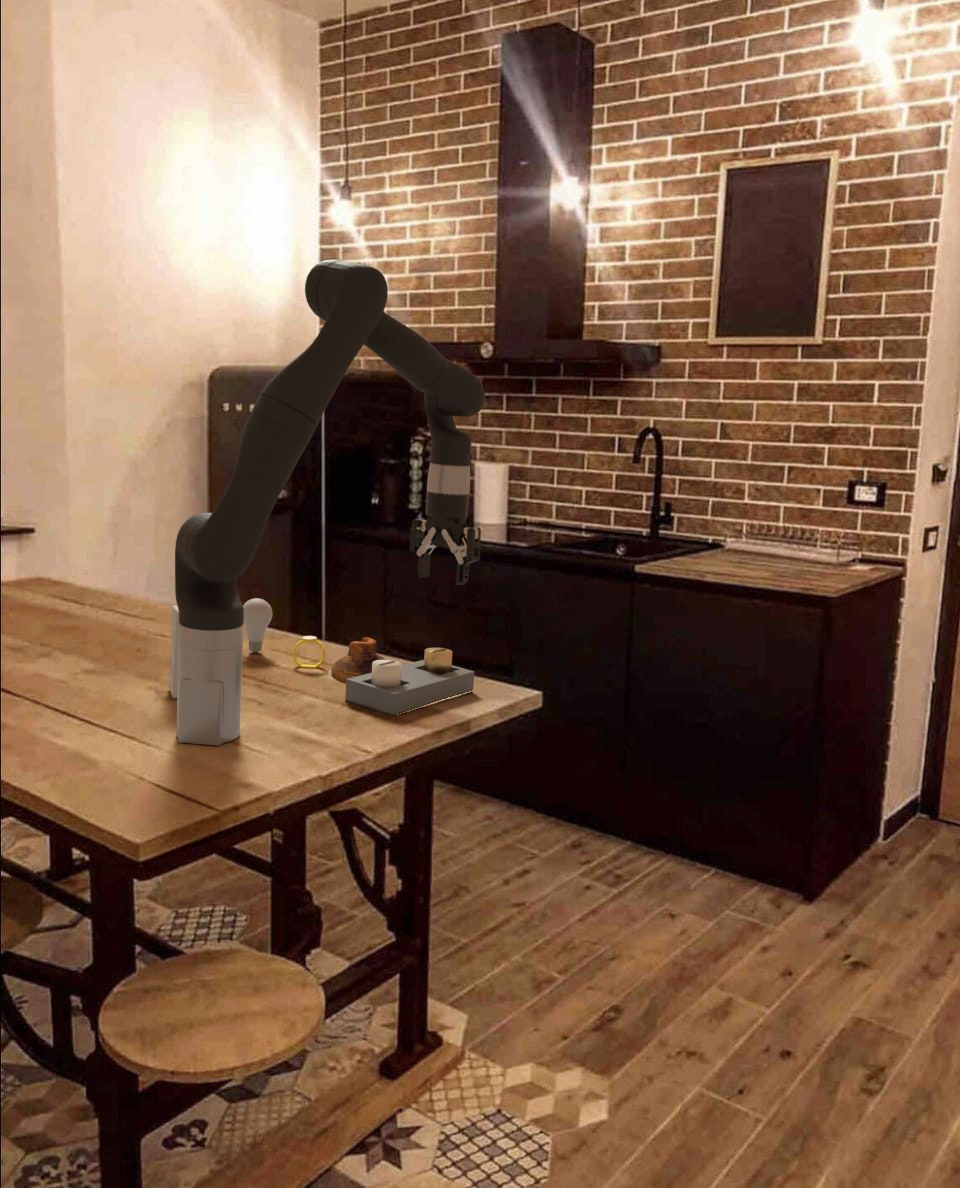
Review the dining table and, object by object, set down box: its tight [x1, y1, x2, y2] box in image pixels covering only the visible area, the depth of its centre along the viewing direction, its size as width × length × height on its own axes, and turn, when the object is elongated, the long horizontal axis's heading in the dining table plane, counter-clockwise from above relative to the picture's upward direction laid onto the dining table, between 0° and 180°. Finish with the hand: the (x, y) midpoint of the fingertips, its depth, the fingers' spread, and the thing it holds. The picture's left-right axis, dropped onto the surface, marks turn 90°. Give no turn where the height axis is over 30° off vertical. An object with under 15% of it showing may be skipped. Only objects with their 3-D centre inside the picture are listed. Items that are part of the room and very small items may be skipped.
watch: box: [292, 635, 326, 669], centre depth 192 cm, size 6×3×6 cm, turn 96°
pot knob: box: [371, 659, 403, 689], centre depth 172 cm, size 5×5×4 cm
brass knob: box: [423, 647, 453, 675], centre depth 184 cm, size 5×5×4 cm
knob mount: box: [344, 659, 475, 717], centre depth 179 cm, size 22×11×4 cm, turn 143°
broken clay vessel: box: [330, 637, 387, 683], centre depth 189 cm, size 12×12×7 cm
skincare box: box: [168, 605, 179, 699], centre depth 170 cm, size 8×6×15 cm
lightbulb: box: [242, 597, 274, 654], centre depth 199 cm, size 6×6×11 cm
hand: (442, 580), depth 181 cm, fingers open, 8 cm apart
